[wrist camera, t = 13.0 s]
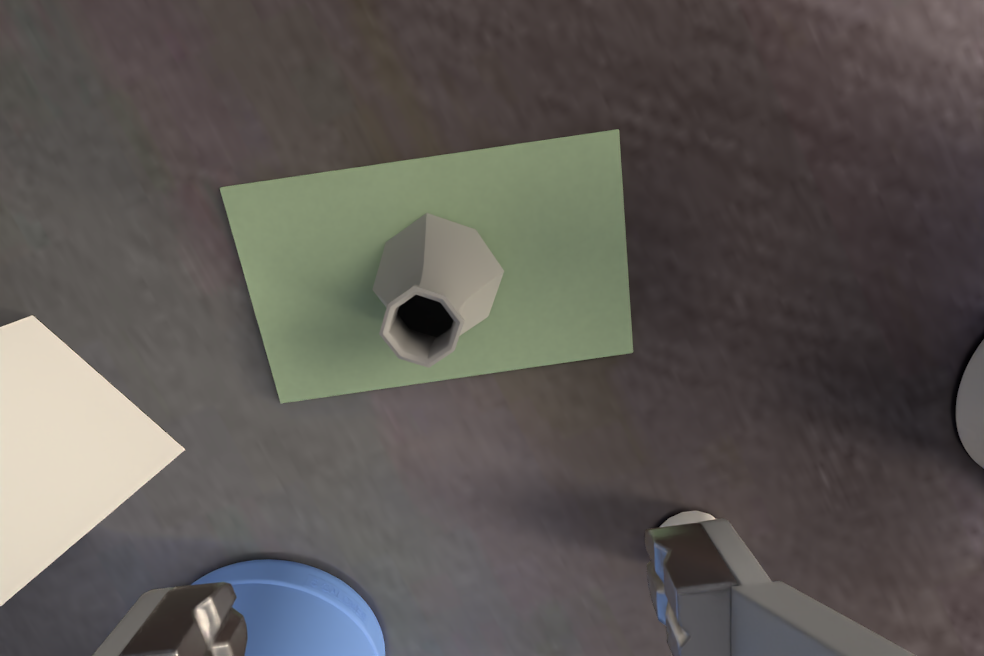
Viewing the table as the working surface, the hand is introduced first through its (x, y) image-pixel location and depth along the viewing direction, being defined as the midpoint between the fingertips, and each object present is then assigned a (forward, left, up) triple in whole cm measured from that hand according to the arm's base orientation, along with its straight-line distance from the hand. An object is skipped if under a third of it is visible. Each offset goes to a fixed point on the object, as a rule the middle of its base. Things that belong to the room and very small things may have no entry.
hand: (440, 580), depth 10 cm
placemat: (+1, -2, -21) cm, 22 cm away
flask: (+1, -2, -21) cm, 21 cm away
